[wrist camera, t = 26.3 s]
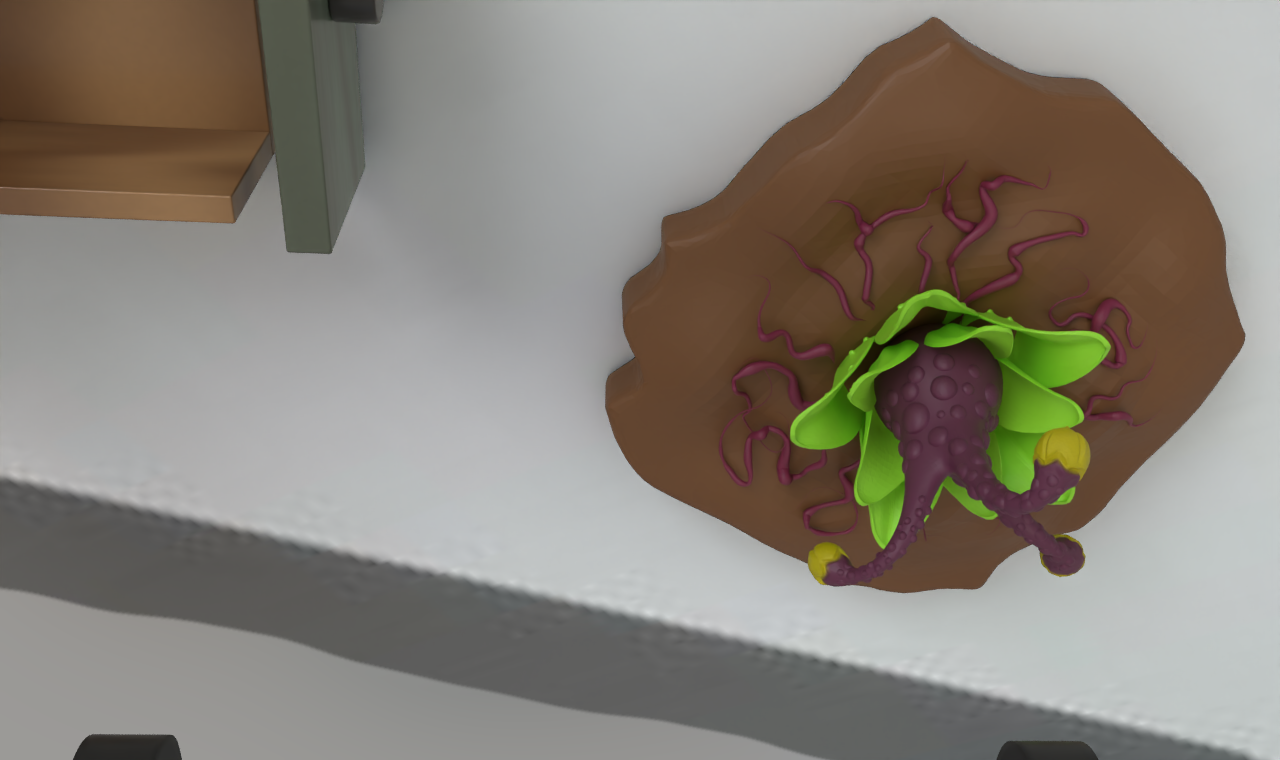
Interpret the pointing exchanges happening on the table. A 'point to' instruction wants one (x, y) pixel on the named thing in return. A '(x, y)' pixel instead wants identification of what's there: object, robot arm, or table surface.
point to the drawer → (182, 109)
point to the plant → (927, 322)
